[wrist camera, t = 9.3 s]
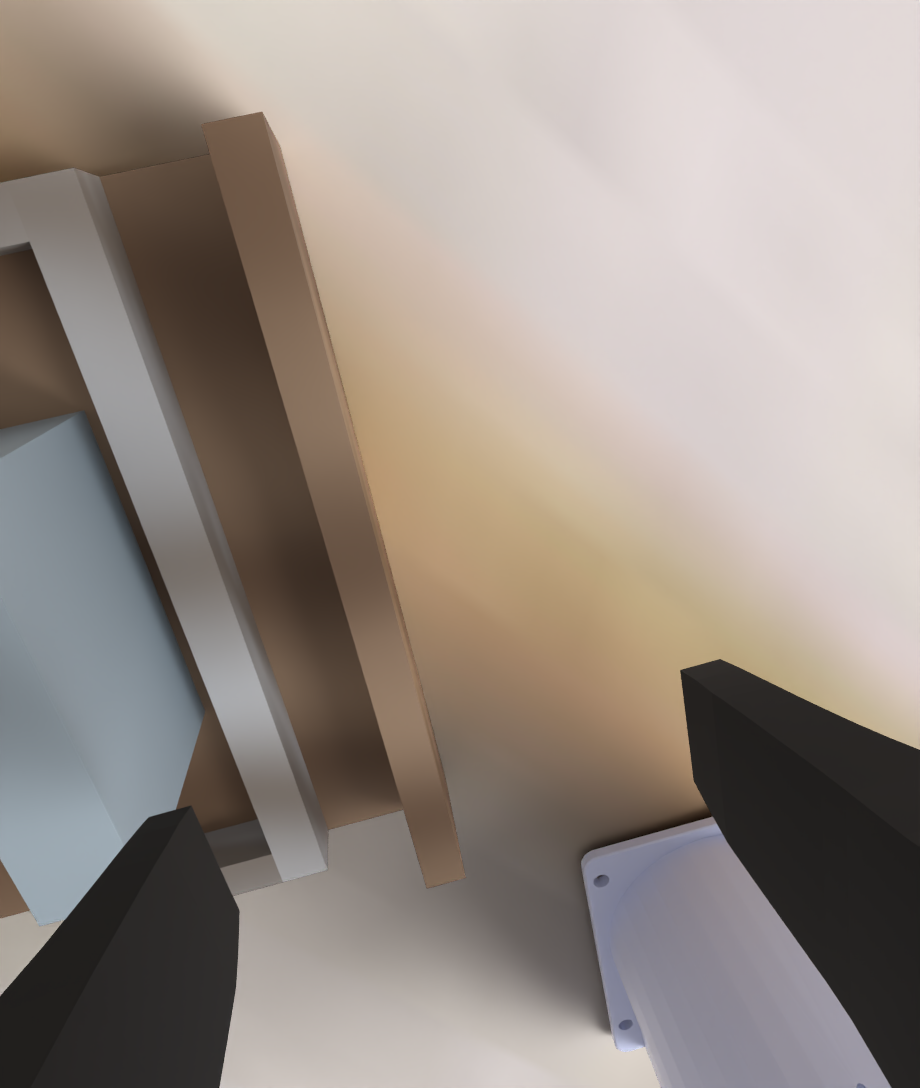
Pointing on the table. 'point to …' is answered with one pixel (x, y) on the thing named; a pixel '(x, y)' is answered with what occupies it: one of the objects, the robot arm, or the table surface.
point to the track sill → (230, 490)
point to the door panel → (79, 670)
